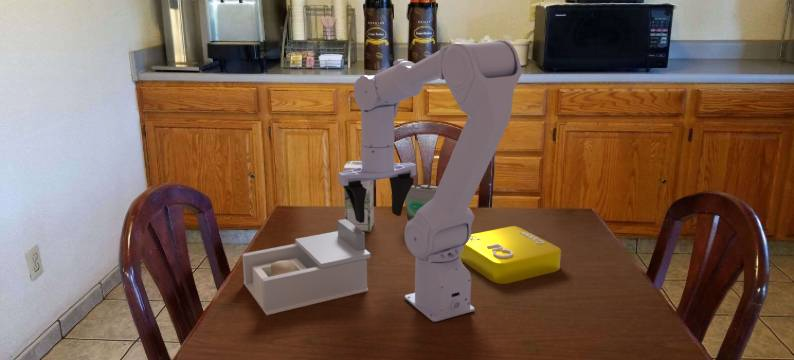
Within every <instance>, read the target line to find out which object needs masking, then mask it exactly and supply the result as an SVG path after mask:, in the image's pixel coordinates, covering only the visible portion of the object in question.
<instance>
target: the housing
mask: <svg viewBox="0 0 794 360" xmlns="http://www.w3.org/2000/svg"><path fill="white" fill-rule="evenodd" d="M241 255H242V256H241V257H242V270H243V285H244V286H245V287H246V289H247V290H248V291H249V293H250V294H251V295H252V297H253V298H254V300H255V301H256V303H257V304H258V305H259V306H260V308H261V309H262V311H263V312H264V314H265V316H269V315H273V314H278V313H281V312H285V311H290V310H293V309H294V310H295V309H297V308H302V307H307V306H311V305H314V304H319V303H323V302H327V301H331V300H332V301H333V300H336V299H339V298H344V297H347V296H352V295H356V294H361V293H365V292H368V291H369V288H368V263H367V260H368V259H363V260H358V261H354V262H349V263H344V264H340V265H335V266H330V267H326V268H321V267H320V266H319V265H318V264H317V263H316V262H315V261H313V260H312V259H311V258H310V257H309V256H308V255H307V254H306V253H305V252H304V251H303V250H302V249H301V248H300V247H299V246H298V245H297V244H296V243H292V244H287V245H280V246H277V247H271V248H266V249H261V250H255V251H250V252H249V251H248V252H245V253H242V254H241ZM283 260H285V261H291V262H293V263H294V264H295V271H294V272H289V273H285V274H280V275H275V276H271V264H273V263H274V262H277V261H283Z"/></svg>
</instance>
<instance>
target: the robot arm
mask: <svg viewBox="0 0 794 360" xmlns="http://www.w3.org/2000/svg"><path fill="white" fill-rule="evenodd" d="M392 64H393V65H392V66H391V67H388V68H380V69H378V70H377V73H376V74H374V75H363V74H362V75H361V76H360V77H359V78H357V79H356V81H355V83H354V84H353V85H354V86H353V97H354V101H355V104H356V106H357V107H358V108H359V109H360V115H361V116H360V118H361V119H360V120H361V121H360V123H361V125H360V126H361V131H360V132H361V133H360V134H361V135H360V136H361V161H362V167H359V168H356V169H352V170H349V171H345V172H344V171H341V172H338V174H337V175H338V176H337V177H338V179H337V180H338V184H339V185H340V186H342V187H343V190H344V189H345V191H346V192H347V194H348V196H349V199H350V201H351V204H352V206H353V210H354V213H355V218H356V220H357V221H358V222H360V223H364V218H365V214H364V203H365V196H366V191H367V189H366V188H364V187H363V184H361V182H365V181H371V180H373V181H379V180H384V179H389V183H390V190H391V211H392V212H391V213H392V214H393V215H394V216H397V217H401V216H402V211H403V208H404V205H405V204H404V203H406V202H405V199H406V196H407V194H408V192H409V190H410V188H411V187H412V185H413V184H415V183H414V179H415V178H413V176H416V175H417V164H415V163H413V162H401V163H400V162H399V163H396V162H395V119H396V117H397V115H398V107H399V105H400V104H401V102H402V101H405V100H407V99H410V98H412V97H415V96H417V95H419V94H420V93H421V92H422V90H423V89H424V85H425V84H427V83H430V82H433V81H436V80H439V79H440V80H442V81H443V80H445V81H444V82H445V83H446V84H445V85H447V88H448V89H449V91H450V93H451V95H452V96H453V99H454V100H455V102H456V104H457V106H458V108H459V110H460V111H461V112H463V113H465V114H466V115H467V119H466V121H465V123H464V126H463V128H462V129H461V132H460V134H459V137H458V140H457V141H456V144H455V147H454V149H453V151H452V154H451V156H450V158H449V161H448V163H447V165H446V167H445V169H444V172H443V174H442V177H441V179H440V181H439V184H438V185H437V186H438V188H437V190H436V193H435V195H434V197H433V199H432V200H430V201H429V202H428V203H426V204H425V205H424V206H422V207H421V208H420V209H419V210H418V211H417V212H416V215H415V217H414V218H413V219H411V220H410V221H409V222H407V223H406V224H405V228H404V237H403V238H404V243H405V245H406V247H407V248H408V250H409V252H410V253H411V256H414V257H415V258H414V259H415V262H414V263H415V264H414V268H415V269H414V273H415V274H414V292H413V293H409V294H405V296H404V299H405V300H406V301H407V302H409V303H410V304H411V305H412V306H413V307H415V308H416V309H417V310H418V311H419V312H421V313H422V314H423V315H424V316H425V317H427V318H428V319H429V320H430V321H432V322H434V323H435V322H440V321H444V320H446V319H450V318H454V317H457V316H462V315H464V314H468V313H471V312H474V311H475V307H474V306H473V305H472V304H471V296H472V294H471V293H472V275H471V272H470V271H469V269H468V268H466V266H465V264H463V262H462V261H461V258H460V253H461V252H463V245H465V244H467V243H468V241H469V240H470V237H471V234H472V224H473V221H474V220H475V219H476V218H475V215H474V213H473V211H472V209H471V208H470V207H469V206H470V205H471V202H472V200H473V198H474V196H475V194H476V192H477V190H478V188H479V185H480V184H481V182H482V179H483V178H484V176H485V174H486V172H487V169H488V167H489V165H490V163H491V161H492V159H493V157H494V154H495V153H496V150H497V148H498V147H499V144H500V143H501V140H502V138H503V136H504V134H505V132H506V130H507V129H508V128H507V127H508V125H509V123H510V120H511V116H512V110H513V109H512V108H513V101H514V91H515V89H516V86H517V85H518V82H519V81H520V80H519V79H520V78H521V76H522V73H523V68H522V65H521V62H520V58H519V55H518V52H517V50H516V47H514V45H513V44H512V43H511V42H510V41H507V40H503V39H499V40H496V41H489V42H472V43H471V42H469V43H462V42H454V43H452V44H450V45H447V46H442V47H440V49H439V50H438V51H436V52H434V53H432V54H430V55H428V56H427V57H425V58H423V59H421V60H419V61H418V62H416V63H414V62H413V61H410V60H406V59H396V60H394V61H393V63H392Z"/></svg>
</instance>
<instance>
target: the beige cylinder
mask: <svg viewBox="0 0 794 360" xmlns="http://www.w3.org/2000/svg"><path fill="white" fill-rule="evenodd" d="M294 271H295V264H294V263H293V262H291V261H285V260H283V261H277V262H274V263H273V264H271V276H275V275H280V274H285V273H289V272H294Z"/></svg>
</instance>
